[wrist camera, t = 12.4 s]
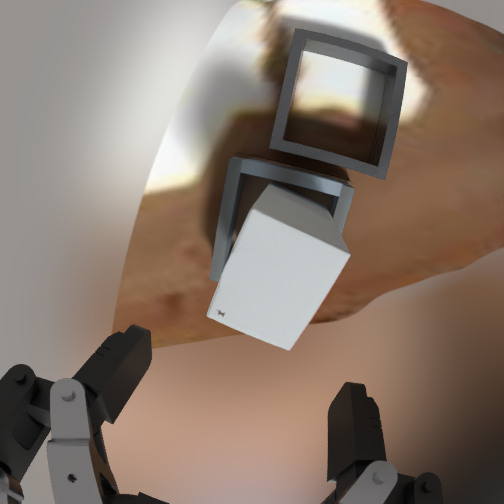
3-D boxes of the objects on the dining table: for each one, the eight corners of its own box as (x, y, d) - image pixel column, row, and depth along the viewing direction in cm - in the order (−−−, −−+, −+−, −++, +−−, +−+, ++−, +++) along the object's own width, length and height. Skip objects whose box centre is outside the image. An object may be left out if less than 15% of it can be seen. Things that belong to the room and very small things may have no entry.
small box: (294, 272, 30) (289, 354, 18) (240, 248, 30) (202, 317, 18) (329, 205, 26) (353, 254, 14) (271, 178, 26) (248, 205, 14)
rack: (350, 180, 26) (358, 186, 22) (316, 290, 31) (318, 309, 27) (236, 153, 27) (226, 154, 23) (217, 265, 32) (206, 281, 28)
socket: (396, 70, 21) (407, 62, 17) (375, 176, 25) (385, 180, 22) (295, 41, 21) (295, 28, 18) (272, 148, 26) (269, 148, 23)
